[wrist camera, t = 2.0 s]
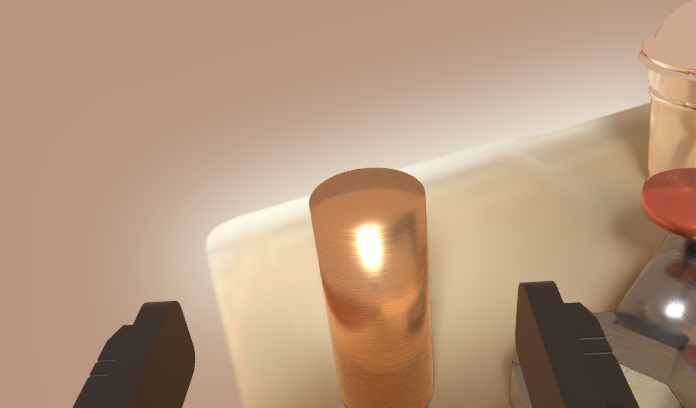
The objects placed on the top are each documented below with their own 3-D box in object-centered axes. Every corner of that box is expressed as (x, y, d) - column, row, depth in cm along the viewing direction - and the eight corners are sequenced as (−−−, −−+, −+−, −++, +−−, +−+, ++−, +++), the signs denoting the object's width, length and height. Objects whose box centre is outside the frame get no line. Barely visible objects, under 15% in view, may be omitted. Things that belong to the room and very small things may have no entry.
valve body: (621, 250, 39) (638, 152, 36) (782, 303, 34) (823, 194, 30) (481, 432, 29) (483, 321, 25) (681, 550, 24) (723, 433, 20)
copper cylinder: (379, 338, 35) (360, 158, 29) (452, 377, 32) (448, 186, 26) (321, 393, 32) (285, 206, 26) (394, 442, 29) (374, 244, 23)
